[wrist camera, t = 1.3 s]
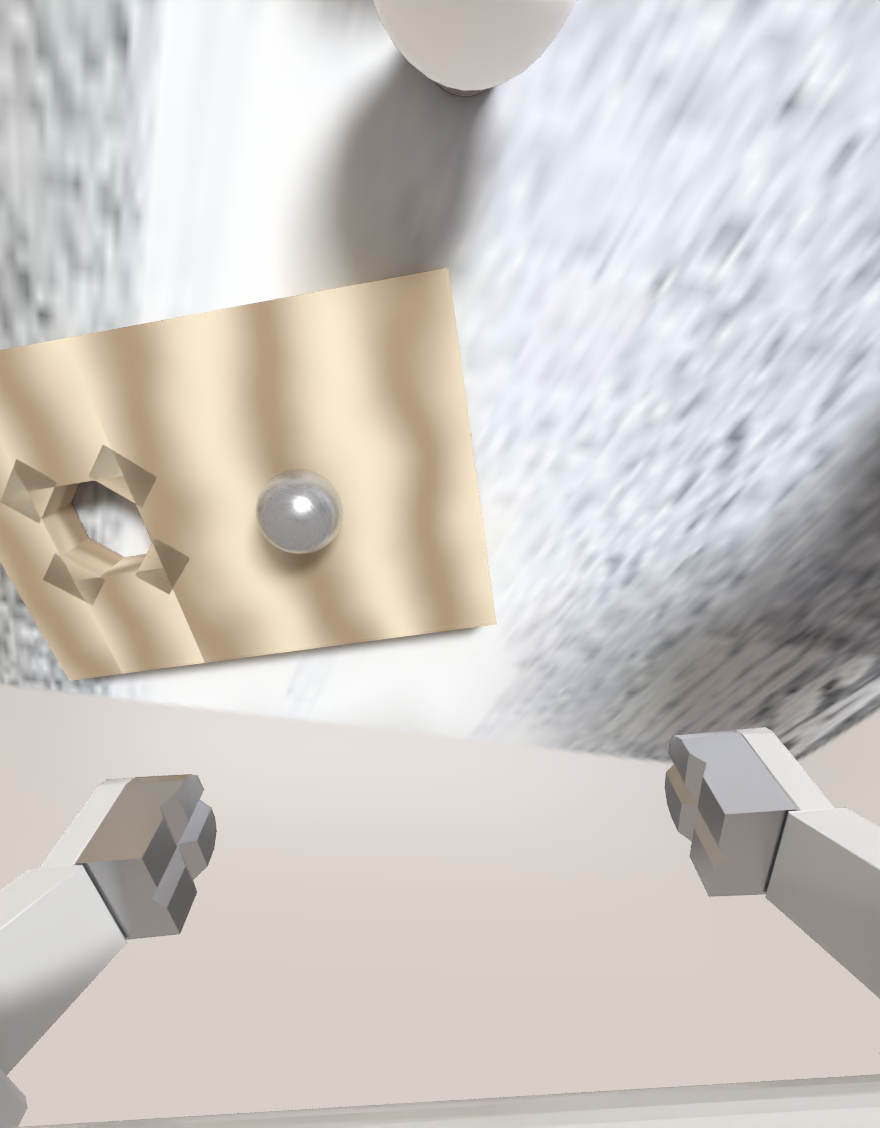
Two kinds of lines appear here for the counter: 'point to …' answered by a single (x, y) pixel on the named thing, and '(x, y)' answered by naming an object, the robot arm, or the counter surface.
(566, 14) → the light bulb
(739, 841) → the robot arm
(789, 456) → the counter surface
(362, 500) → the beige flat wooden board
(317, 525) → the ball
